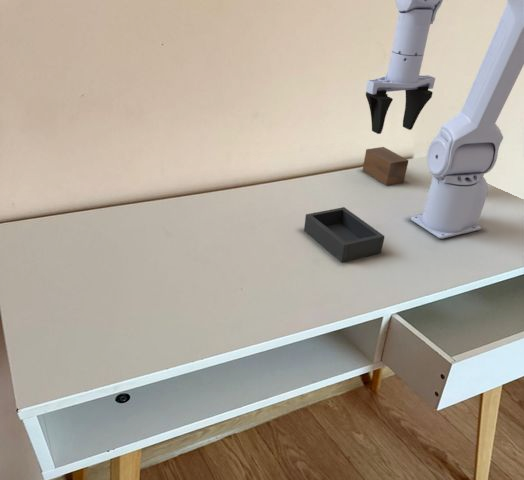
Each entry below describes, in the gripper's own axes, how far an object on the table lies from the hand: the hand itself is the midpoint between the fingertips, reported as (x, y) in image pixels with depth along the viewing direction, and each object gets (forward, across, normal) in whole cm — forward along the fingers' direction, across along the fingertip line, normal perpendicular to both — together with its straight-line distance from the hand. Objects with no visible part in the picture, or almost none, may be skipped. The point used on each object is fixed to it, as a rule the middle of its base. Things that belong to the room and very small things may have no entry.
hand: (391, 130), depth 108 cm
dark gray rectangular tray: (+9, +24, +20) cm, 33 cm away
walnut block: (+9, 0, 0) cm, 9 cm away
